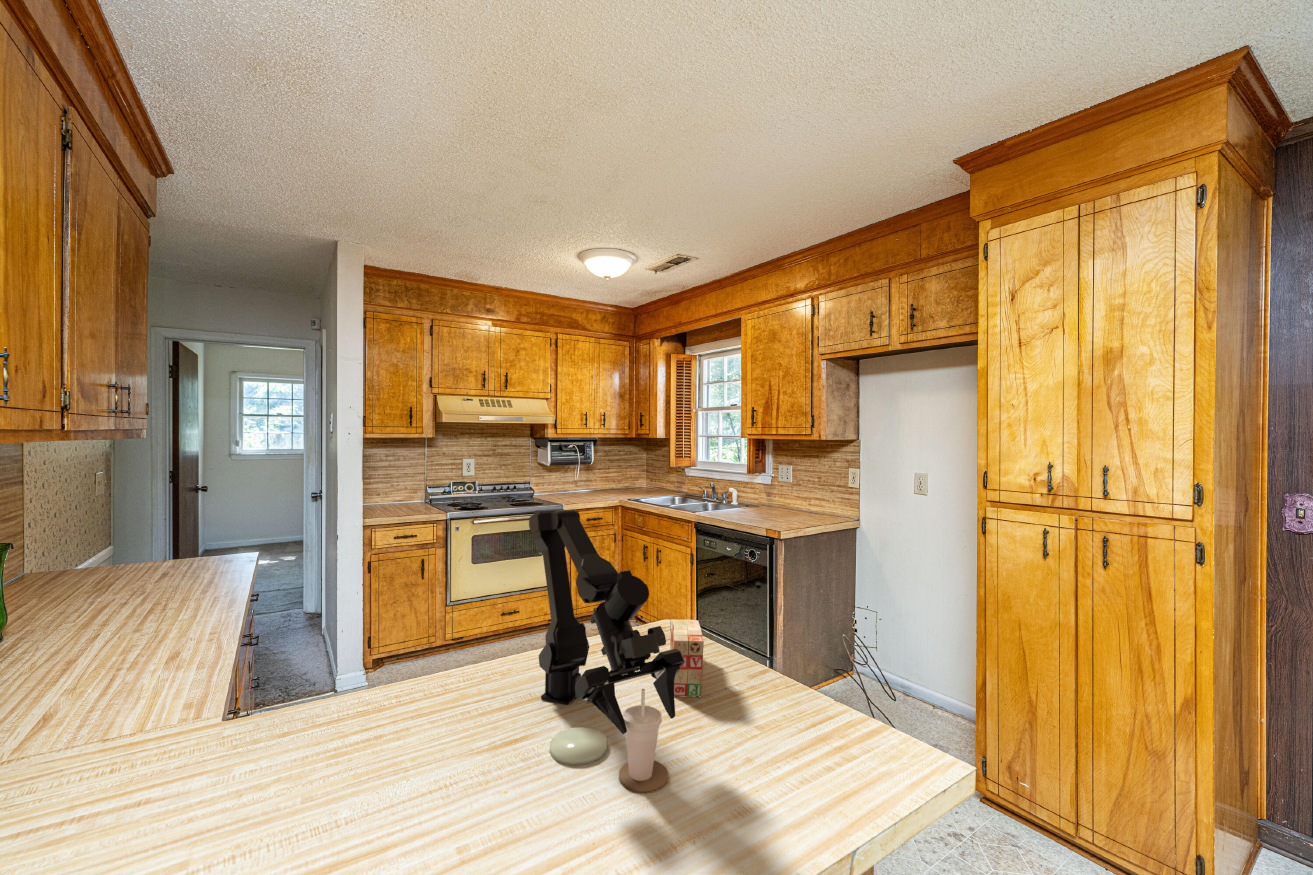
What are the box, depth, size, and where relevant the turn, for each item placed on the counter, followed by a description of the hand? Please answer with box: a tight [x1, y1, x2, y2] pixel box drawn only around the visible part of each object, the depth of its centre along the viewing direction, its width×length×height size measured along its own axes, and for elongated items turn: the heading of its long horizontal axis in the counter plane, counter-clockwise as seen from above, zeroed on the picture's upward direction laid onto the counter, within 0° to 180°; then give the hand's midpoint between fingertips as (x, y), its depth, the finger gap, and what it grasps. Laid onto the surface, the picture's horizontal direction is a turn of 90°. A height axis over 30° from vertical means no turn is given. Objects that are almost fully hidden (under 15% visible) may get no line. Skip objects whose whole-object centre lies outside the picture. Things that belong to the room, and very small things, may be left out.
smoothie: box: [622, 688, 663, 781], centre depth 93 cm, size 6×6×14 cm
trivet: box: [618, 760, 669, 794], centre depth 93 cm, size 8×8×1 cm
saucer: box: [548, 726, 608, 766], centre depth 101 cm, size 10×10×1 cm
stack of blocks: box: [669, 619, 705, 697], centre depth 131 cm, size 21×6×12 cm, turn 0°
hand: (649, 724), depth 92 cm, fingers open, 9 cm apart
